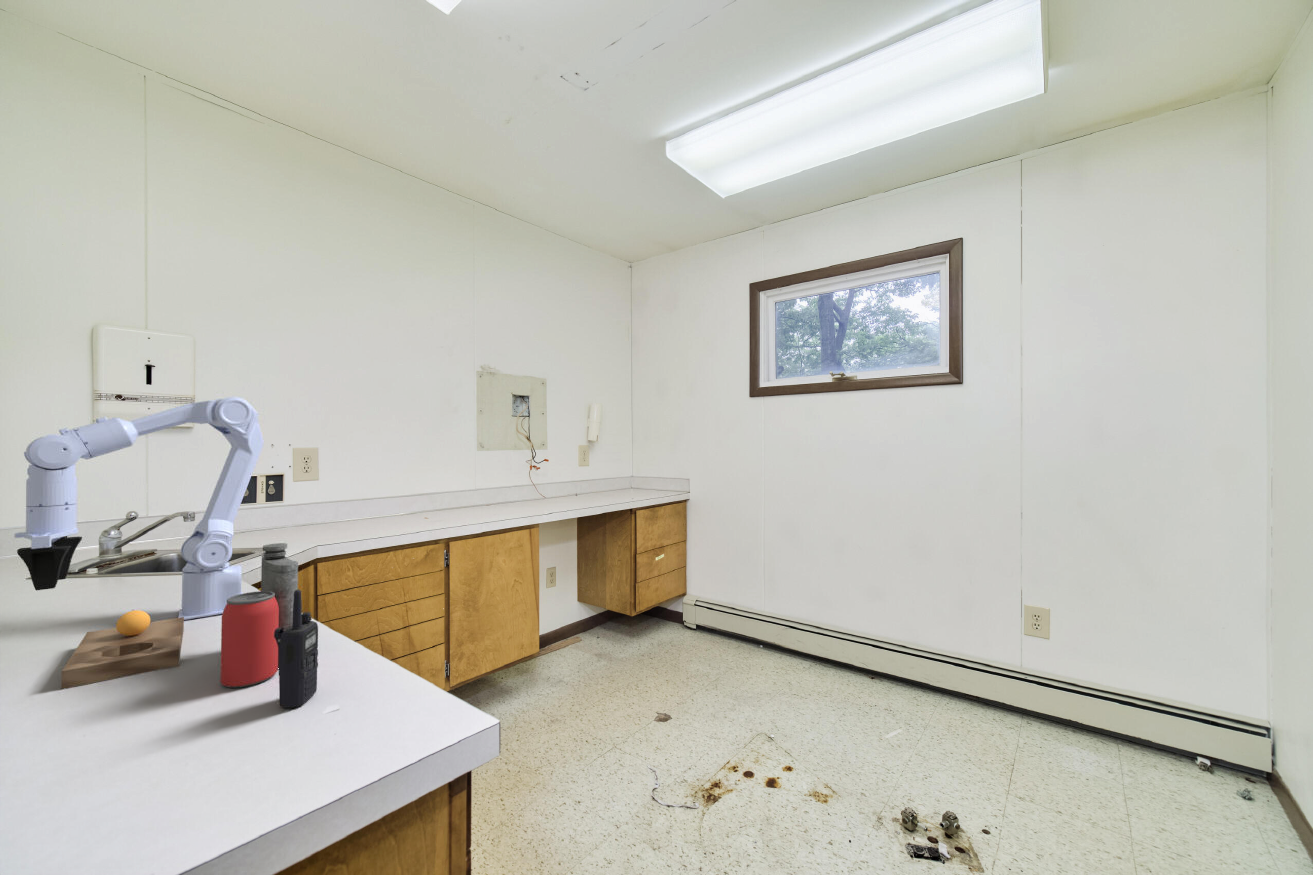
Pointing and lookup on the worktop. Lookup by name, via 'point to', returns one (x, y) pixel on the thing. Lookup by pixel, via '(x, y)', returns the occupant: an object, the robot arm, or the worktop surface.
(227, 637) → the beer can
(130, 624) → the ball
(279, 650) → the two-way radio
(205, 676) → the worktop surface
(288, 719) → the worktop surface
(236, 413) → the robot arm
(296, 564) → the flask
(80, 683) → the hole board
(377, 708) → the worktop surface
